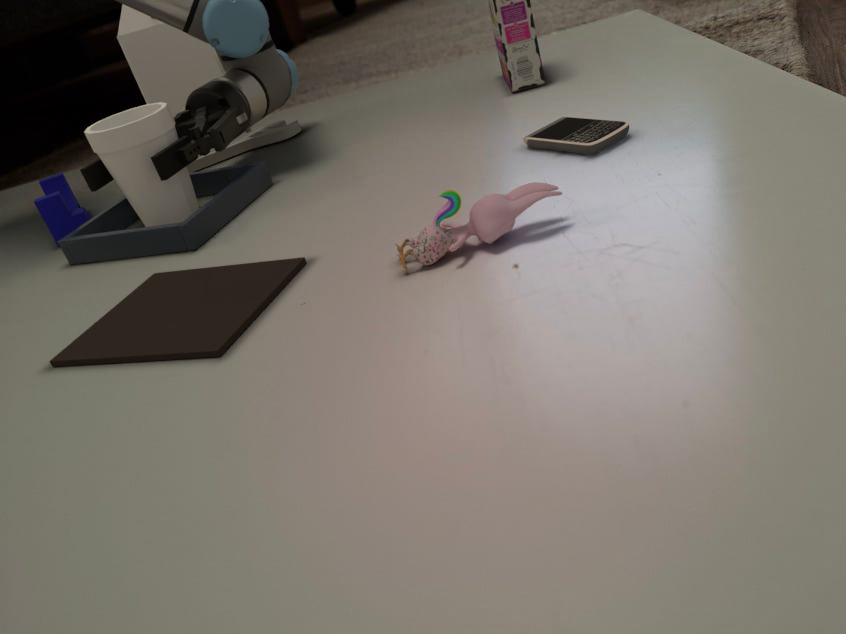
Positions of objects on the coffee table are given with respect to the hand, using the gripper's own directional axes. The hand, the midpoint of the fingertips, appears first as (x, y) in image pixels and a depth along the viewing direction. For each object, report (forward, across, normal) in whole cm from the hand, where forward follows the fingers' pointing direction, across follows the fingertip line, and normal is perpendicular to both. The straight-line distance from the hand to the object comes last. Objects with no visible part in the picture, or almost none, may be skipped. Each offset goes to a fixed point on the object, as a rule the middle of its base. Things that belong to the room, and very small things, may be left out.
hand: (122, 174), depth 94 cm
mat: (+19, -17, -8) cm, 26 cm away
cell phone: (-12, -48, -8) cm, 50 cm away
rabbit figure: (+11, -44, -8) cm, 46 cm away
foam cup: (-4, 0, -8) cm, 9 cm away
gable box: (-54, +27, -8) cm, 61 cm away
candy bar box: (-41, -35, -8) cm, 55 cm away
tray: (-4, 0, -8) cm, 9 cm away
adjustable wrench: (-27, +8, -8) cm, 30 cm away
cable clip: (-7, +18, -8) cm, 21 cm away
